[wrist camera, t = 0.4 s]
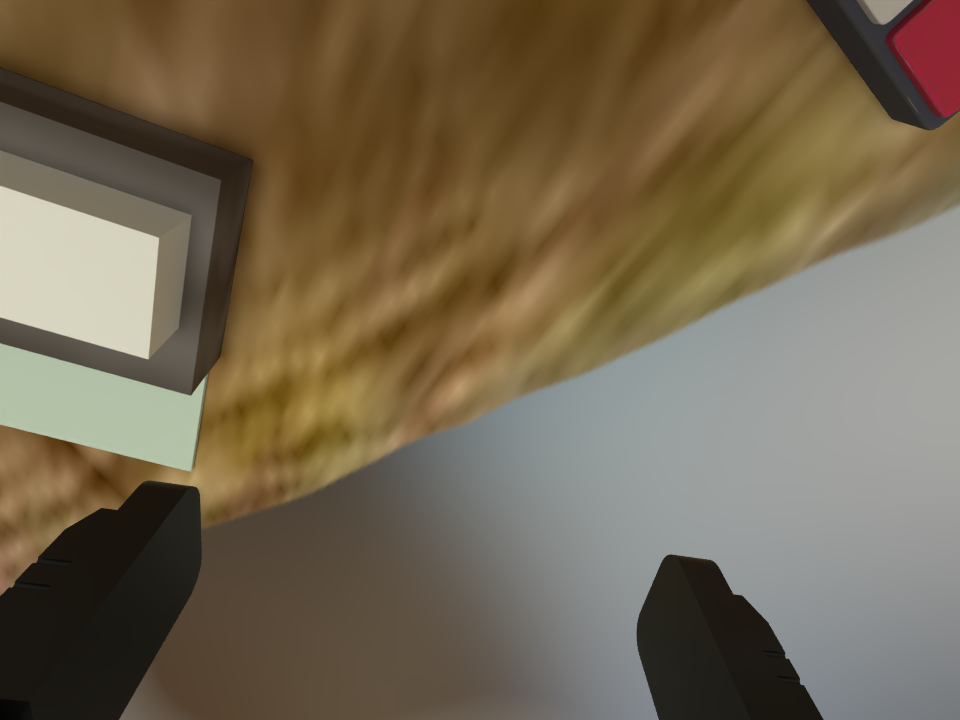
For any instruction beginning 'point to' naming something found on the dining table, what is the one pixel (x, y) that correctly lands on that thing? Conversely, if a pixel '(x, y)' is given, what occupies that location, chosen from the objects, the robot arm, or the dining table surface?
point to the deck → (148, 175)
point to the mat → (99, 408)
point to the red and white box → (902, 53)
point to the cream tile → (89, 259)
